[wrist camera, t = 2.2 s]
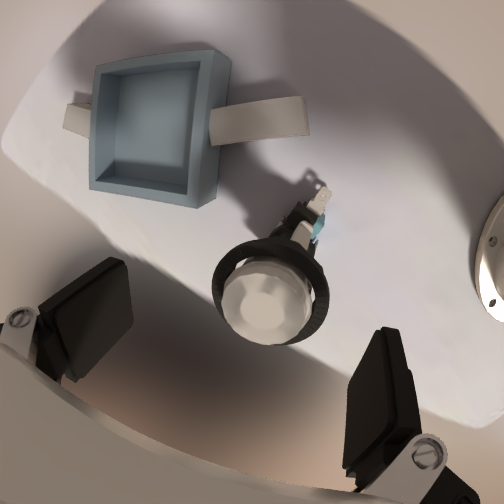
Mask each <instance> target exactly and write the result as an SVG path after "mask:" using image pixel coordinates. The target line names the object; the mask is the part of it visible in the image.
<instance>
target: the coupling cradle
mask: <svg viewBox="0 0 504 504" xmlns="http://www.w3.org/2000/svg"><path fill="white" fill-rule="evenodd" d="M231 63H232V60H231V59H229V58H227V57H226V56H224V55H223V54H221V53H219V52H218V51H216V50H214V49H210V50H193V51H181V52H171V53H163V54H155V55H148V56H142V57H136V58H131V59H125V60H121V61H116V62H111V63H107V64H103V65H99V66H96V70H95V77H94V85H93V93H92V103H91V105H90V104H86V103H78V104H67V108H66V113H65V118H64V123H63V128H64V129H66V130H69V131H71V132H74V133H76V134H79V135H81V136H84V137H86V138H88V139H89V190H96V191H102V192H108V193H114V194H119V195H125V196H131V197H137V198H142V199H148V200H153V201H159V202H164V203H169V204H175V205H180V206H185V207H190V208H195V209H198V208H200V207H201V206H203V205H205V204H207V203H209V202H211V201H212V200H214V199H216V191H217V180H218V170H219V160H220V150H221V145H226V144H233V143H240V142H247V141H255V140H263V139H271V138H281V137H291V136H303V135H309V127H308V119H307V111H306V104H305V100H304V99H303V98H302V96H301V95H300V96H290V97H282V98H274V99H267V100H260V101H254V102H248V103H242V104H236V105H231V106H226V99H227V92H228V84H229V77H230V70H231Z"/></svg>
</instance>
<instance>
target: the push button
mask: <svg viewBox="0 0 504 504" xmlns="http://www.w3.org/2000/svg"><path fill="white" fill-rule="evenodd" d="M331 194H332V192H331V191H330V190H329V189H327V188H326V187H324V186H323V187H322V188H321V189H320V191H319V192H318V193H317V195H316V196H315V198H313V197H312V198H311V200H310V201H309V202H308V203H307V202H304V204H302V203H300V202H298V203H297V205H296V206H295V207H294V209H293V210H292V212H291V213H290V215H289V217H288V218H287V220H286V221H285V222H284V224H283V223H282V222H281V221H282V220H283V218H284V216H283V218H282V219H281V221H280V222H279V224H278V225H277V227H276V228H275V229H274V231H273V232H272V233H271V234H270V236H269V237H268V238H264V239H258V240H252V241H248V242H245V243H242V244H240V245H238V246H236V247H234V248H233V249H232V250H230V251H229V252H228V253H227V254H226V255H225V256H224V257H223V258H222V259H221V261H220V262H219V263H218V265H217V267H216V269H215V271H214V274H213V278H212V295H213V299H214V303H215V305H216V308H217V310H218V311H219V313H220V315H221V316H222V318H223V319H224V320H225V321H226V322H227V323H228V325H229V326H231V327H232V328H233V329H234V331H236V332H237V333H239V334H240V335H241V336H242V337H244V338H246V339H248V340H249V341H253V342H257V343H259V344H265V345H289V344H293V343H297V342H300V341H302V340H304V339H306V338H308V337H309V336H311V335H312V334H313V333H315V332H316V331H317V330H318V329H319V327H320V326H321V325H322V323H323V322H324V320H325V318H326V315H327V312H328V308H329V298H330V294H329V287H328V283H327V280H326V277H325V275H324V273H323V268H322V266H321V265H320V264H319V263H318V262H317V261H316V260H315V259H314V255H315V250H316V248H317V245H318V240H317V241H316V242H315V243H314V244H313V243H312V240H313V239H314V238H315V236H316V235H317V234H318V233H319V232H320V231H321V229H322V228H323V226H324V220H325V215H324V214H322V213H323V212H324V208H325V205H326V204H327V202H328V201H329V199H330V198H331V197H332V195H331ZM321 195H325V196H326V197H325V198H322V197H321ZM246 258H247V260H246V261H245V263H244V264H243V265H242V266H241V267H239V268H236V265H237V263H239V262H240V261H242V260H244V259H246ZM235 268H236V269H235ZM312 287H313V289H314V293H315V300H314V302H313V303H312V299H311V296H310V295H311V290H312Z"/></svg>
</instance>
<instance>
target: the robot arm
mask: <svg viewBox="0 0 504 504" xmlns="http://www.w3.org/2000/svg"><path fill="white" fill-rule="evenodd" d="M475 284H476V289H477V293H478V296H479V298H480V301H481V303H482V304H483V306H484V308H485V309H486V311H487V312H488V313H489V314H490V315H491V316H492V317H493V318H495V319H497V320H498V321H501V322H504V195H503V196H502V197H501V198H500V199H499V201H498V202H497V204H496V205H495V207H494V208H493V210H492V211H491V213H490V215H489V217H488V219H487V221H486V223H485V226H484V228H483V231H482V234H481V237H480V240H479V244H478V248H477V252H476V260H475ZM38 308H39V311H40V314H39V315H38V316H37V313H36V311H35V310H34V309H33V308H30V307H20V308H17V309H15V310H13V311H12V312H11V313H10V314H9V315H8V316H7V318H6V320H5V323H1V324H0V504H480V499H479V496H478V494H477V493H476V492H475V491H474V490H473V489H472V488H471V487H469V486H468V485H467V484H466V483H465V482H464V481H462V480H461V479H460V478H459V477H458V476H457V475H456V474H455V473H453V472H452V471H451V470H450V469H449V468H448V467H447V466H445V464H446V462H447V456H448V453H447V449H446V446H445V445H444V443H443V442H442V441H441V440H440V439H439V438H438V437H436V436H434V435H432V434H422V429H421V421H420V415H419V408H418V402H417V396H416V391H415V385H414V380H413V375H412V372H411V370H410V369H408V366H407V362H406V357H405V353H404V348H403V344H402V340H401V336H400V332H399V330H398V329H394V328H389V327H382V328H381V330H376V331H375V333H374V335H373V337H372V339H371V341H370V343H369V345H368V347H367V349H366V351H365V353H364V355H363V357H362V359H361V361H360V363H359V365H358V367H357V368H356V370H355V372H354V374H353V376H352V378H351V380H350V382H349V384H348V389H347V413H346V429H345V443H344V453H343V465H342V467H343V469H347V470H346V477H351V478H356V480H355V484H356V487H355V488H354V489H353V490H352V491H351V492H345V491H338V490H331V489H323V488H316V487H308V486H303V485H297V484H291V483H286V482H281V481H277V480H271V479H268V478H263V477H259V476H254V475H251V474H247V473H243V472H240V471H236V470H232V469H229V468H226V467H223V466H220V465H217V464H213V463H210V462H208V461H205V460H202V459H199V458H196V457H194V456H191V455H188V454H186V453H183V452H181V451H178V450H176V449H174V448H171V447H169V446H166V445H164V444H162V443H160V442H158V441H155V440H153V439H151V438H149V437H146V436H145V435H143V434H141V433H139V432H136V431H134V430H133V429H131V428H129V427H127V426H125V425H123V424H121V423H119V422H118V421H116V420H114V419H112V418H110V417H109V416H107V415H105V414H104V413H102V412H100V411H99V410H97V409H95V408H94V407H92V406H90V405H89V404H87V403H86V402H84V401H83V400H81V399H80V398H78V397H76V396H75V395H73V394H72V393H70V392H69V391H68V390H66V389H65V388H64V387H62V386H61V384H62V375H63V374H64V373H65V375H66V377H67V378H69V379H70V380H72V381H73V382H75V383H76V382H77V381H78V379H80V378H83V377H85V376H86V374H87V373H88V372H89V371H90V370H91V369H92V368H93V367H94V366H95V365H96V364H97V363H98V361H99V360H100V359H101V358H102V357H103V356H104V355H105V354H106V353H107V352H108V351H109V350H110V349H111V348H112V347H113V345H114V344H115V343H116V342H117V341H118V340H119V339H120V338H121V337H122V336H123V335H124V334H125V333H126V332H127V331H128V330H129V328H131V326H132V325H133V321H134V318H133V313H132V305H131V297H130V289H129V280H128V270H127V266H126V265H125V263H124V261H123V260H120V259H117V258H114V257H109V258H107V259H105V260H104V261H102V262H101V263H99V264H98V265H96V266H95V267H93V268H92V269H90V270H89V271H87V272H86V273H84V274H83V275H81V276H80V277H79V278H77V279H76V280H74V281H73V282H71V283H70V284H68V285H67V286H66V287H64V288H63V289H61V290H60V291H58V292H57V293H56V294H54V295H53V296H52V297H50V298H49V299H47V300H46V301H45V302H43V303H42V304H41V305H39V306H38Z"/></svg>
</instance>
